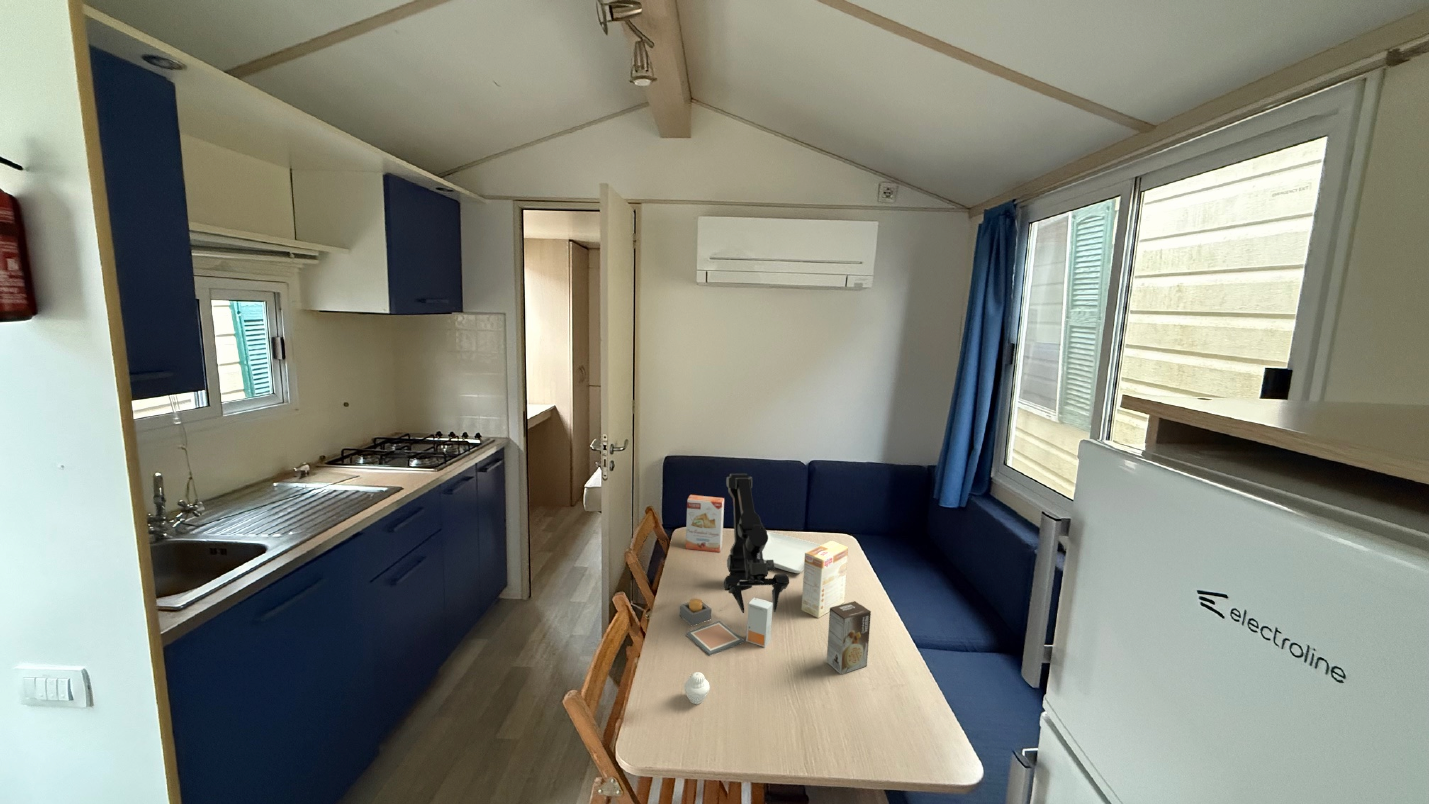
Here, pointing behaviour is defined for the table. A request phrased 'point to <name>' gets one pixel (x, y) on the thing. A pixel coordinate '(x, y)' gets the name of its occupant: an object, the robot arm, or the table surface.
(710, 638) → the picture board
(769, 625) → the skincare box
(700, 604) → the button
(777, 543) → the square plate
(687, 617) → the button housing
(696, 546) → the cracker box
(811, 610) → the coffeecake box
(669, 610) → the table surface
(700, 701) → the white lidded jar
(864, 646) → the coffee box
